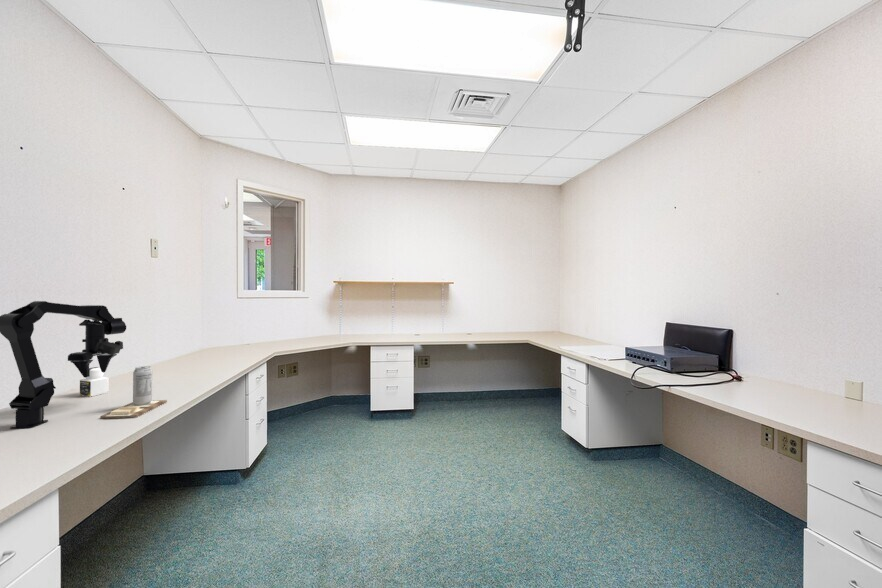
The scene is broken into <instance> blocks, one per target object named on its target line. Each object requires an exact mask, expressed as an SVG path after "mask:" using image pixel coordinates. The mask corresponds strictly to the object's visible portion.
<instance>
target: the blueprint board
mask: <svg viewBox="0 0 882 588" xmlns="http://www.w3.org/2000/svg"><path fill="white" fill-rule="evenodd" d="M166 402H167V403H168V400H167V399H160V400H159V399H156V400H155V399H152V401H151V402H150V404H147V405H142V406H135V404H134V403H133V401H132V402H129V403H127V404H125V405H123V406H121V407H117V408H116V409H113V410H112V411H109V412H107V413H105V414H102V415H100V417H99V418H100V420H104V419H103V418H112V419H121V418H120V417H137V418H139V417H141V416H142V414H143V415H145V414H146V412H147V413H149V412H151V411H153V410H155V409H157V408H158V406H159V407H160V405H161V406H162V404H163V405H165V404H166ZM164 403H165V404H164ZM156 407H157V408H156ZM154 408H155V409H154ZM152 409H153V410H152ZM150 410H151V411H150ZM148 411H149V412H148ZM144 413H145V414H144ZM140 415H141V416H140ZM138 416H139V417H138Z"/></svg>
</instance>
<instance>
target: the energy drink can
mask: <svg viewBox="0 0 882 588" xmlns="http://www.w3.org/2000/svg"><path fill="white" fill-rule="evenodd" d="M152 400H153V369H152V368H151V366H150V365H142V366H136V367H135V369H134V370H133V372H132V402H133V403H134V404H135V406H142V405H147V404H150V402H151V401H152Z"/></svg>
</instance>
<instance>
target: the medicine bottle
mask: <svg viewBox="0 0 882 588" xmlns="http://www.w3.org/2000/svg"><path fill="white" fill-rule="evenodd" d="M104 373H105V372H102V371H101V369H100V366H96V367H89V372H88V377H84V378H83V379H80V380H79V396H80V395H82V396H83V397H88V396H89V397H88V398H91V396H92V397H96V395H97V396H101V395H104V394H105V393H106V394H108V393H109V392H110V391H109V389H110V387H109V386H110V385H109V384H110V383H109V382H110V379H109V377H108V376H107V377H106V376H104V375H105V374H104ZM100 394H101V395H100ZM82 396H81V397H82Z"/></svg>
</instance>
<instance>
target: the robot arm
mask: <svg viewBox="0 0 882 588" xmlns="http://www.w3.org/2000/svg"><path fill="white" fill-rule="evenodd" d="M46 313H47V314H58V315H59V314H60V315H70V316H76V317H78V318H82V319H84V320H83V321H82V322H80V323H79V324H78V326H80V327H81V326H82V327H85V338H84V339H82V340H81V341H82V343H85V344H84V345H85V348H84V349H82V350H81V351H76V352H71V353H69V354H68V355H67V361H68V362H70V364H71V363H72V364H73V365H74V366H75V367H76V368H77V370H78V372H79V373H80V374H81V376H82V377H83V378H85V377H88V372H89V368H90V364H91V363H92V362H93V361H94V359H93V358H94V357H97V361H98V365H99V367H100V369H101V371H102V372H104V373H105V372H106V371H107V369H108V367H109V364H110V362H111V360H112V359H113V358H114V357H116V356H117V355H118V354H120V351H121V350H124V343H123V341H120V340H117V341H115V342H114V341H113V342H110V341H109V338H108V337H106V336H109V335H110V336H111V335H118V334H119V335H120V334H123V333H126V331H127V325H126V322H125V321H123V318H122V317H114V316H113V315H112V314H111V313H110V311H109V310H108V307H107V306H105V305H97V304H96V305H93V304H90V305H89V304H88V305H86V304H85V305H84V304H83V305H76V304H67V303H66V304H65V303H58V302H57V303H56V302H49V301H46V300H44V301H43V300H42V301H41V300H34V301H31V302H29V303H28V304H27V305H23V306H22V307H19V308H16V309H14V310H11V311H10V312H8V313H4V314H1V315H0V334H1V335H2V336H3V337H4V338H5V339H6V340H7V341H8V342H9V345H10V347H11V348H10V349H11V350H12V354H13V357H14V360H15V363H16V366H17V370H18V372H19V375H20V378H21V379H20V380H21V381H20V383H19V385H18V394H17V395H16V396H15V397H14V398H13V399H12V400H11V401H10V402H9V403H8V405H9V407H10V408H11V409H15V425H12V426H10V429H30V428H34V427H36V426H39V425H42V424H45V423H47V422H49V420H48V419H45V417H44V416H45V412H44V411H45V409H44V408H45V407H48V406H49V404H50V401H51V399H52V397H53V396H54V395H55V389H56V386H55V385H54V380H53V378H52V377H44V375H43V373H42V370H41V368H40V364H39V361H38V358H37V355H36V351H35V347H34V344H33V341H32V334H33V333H34V331H35V330H34V329H35V328H34V327H35V325H34V324H35V323H37V322H38V321H40V320H41V319H42V318H43V316H44V315H45V314H46Z"/></svg>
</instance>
